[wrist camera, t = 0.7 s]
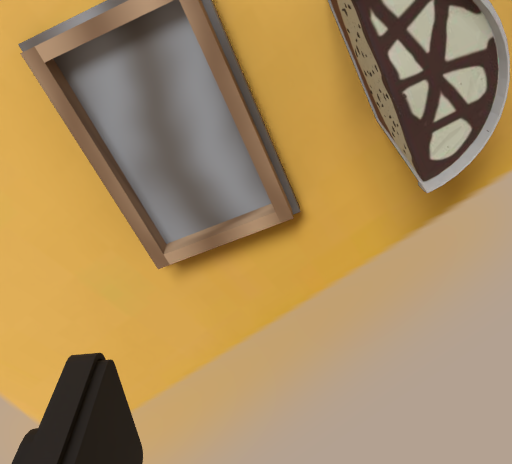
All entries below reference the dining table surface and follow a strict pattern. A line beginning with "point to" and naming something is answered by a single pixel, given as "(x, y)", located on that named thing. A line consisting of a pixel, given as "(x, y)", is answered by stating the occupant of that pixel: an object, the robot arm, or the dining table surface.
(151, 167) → the board
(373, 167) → the dining table surface
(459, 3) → the food container
